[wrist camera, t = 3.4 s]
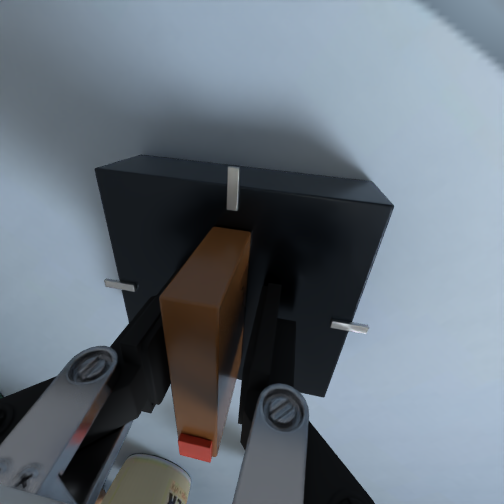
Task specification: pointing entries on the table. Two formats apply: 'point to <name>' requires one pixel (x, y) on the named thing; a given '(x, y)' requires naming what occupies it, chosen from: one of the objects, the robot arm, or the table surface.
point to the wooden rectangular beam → (206, 337)
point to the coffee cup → (148, 482)
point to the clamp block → (252, 242)
